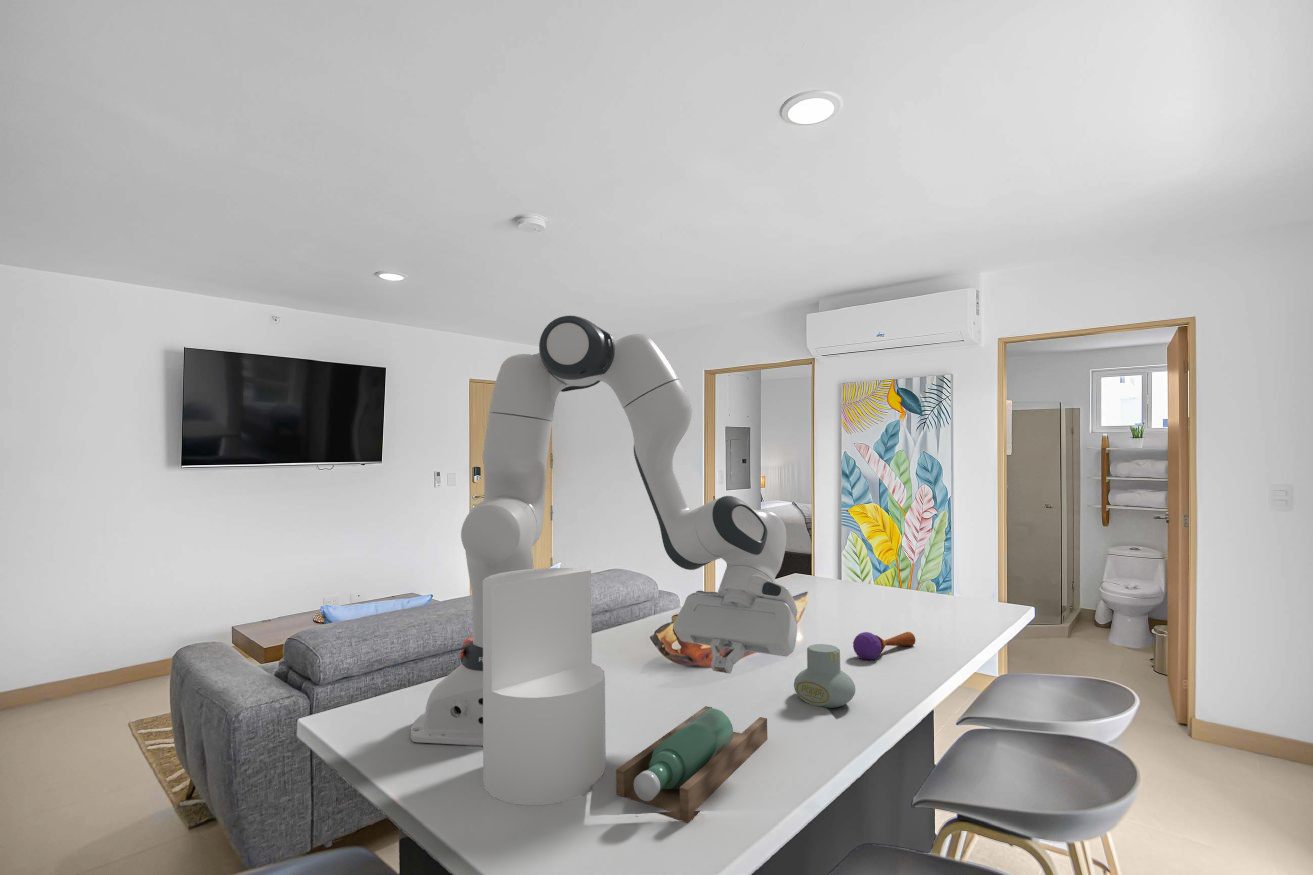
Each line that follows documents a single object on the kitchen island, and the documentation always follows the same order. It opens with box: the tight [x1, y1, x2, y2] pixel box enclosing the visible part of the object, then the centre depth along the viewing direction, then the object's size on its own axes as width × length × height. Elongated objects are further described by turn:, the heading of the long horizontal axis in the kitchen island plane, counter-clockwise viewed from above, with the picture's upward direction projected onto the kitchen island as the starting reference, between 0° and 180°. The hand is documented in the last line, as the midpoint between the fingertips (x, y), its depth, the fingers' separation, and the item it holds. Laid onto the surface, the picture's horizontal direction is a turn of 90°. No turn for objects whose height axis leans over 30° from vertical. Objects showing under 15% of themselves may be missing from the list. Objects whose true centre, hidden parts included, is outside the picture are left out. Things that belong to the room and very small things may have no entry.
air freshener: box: [793, 643, 856, 709], centre depth 121 cm, size 11×8×10 cm
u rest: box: [615, 705, 768, 824], centre depth 95 cm, size 26×11×4 cm, turn 149°
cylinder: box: [482, 567, 607, 806], centre depth 95 cm, size 17×17×28 cm
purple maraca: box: [852, 631, 916, 661], centre depth 152 cm, size 6×6×20 cm
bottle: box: [634, 707, 734, 801], centre depth 91 cm, size 6×6×21 cm
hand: (720, 670), depth 102 cm, fingers closed
